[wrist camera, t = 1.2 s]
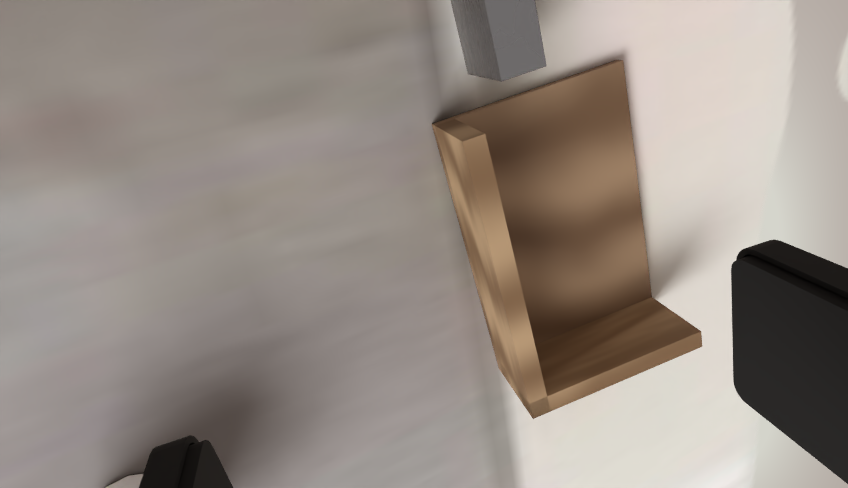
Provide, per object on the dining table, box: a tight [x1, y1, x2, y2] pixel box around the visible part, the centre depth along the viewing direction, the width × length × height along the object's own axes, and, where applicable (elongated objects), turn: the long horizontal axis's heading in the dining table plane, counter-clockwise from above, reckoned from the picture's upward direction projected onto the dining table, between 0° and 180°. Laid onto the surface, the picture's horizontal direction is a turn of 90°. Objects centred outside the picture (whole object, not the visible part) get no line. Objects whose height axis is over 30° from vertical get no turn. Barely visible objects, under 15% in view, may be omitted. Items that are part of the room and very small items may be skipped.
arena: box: [432, 60, 702, 419], centre depth 34 cm, size 18×12×6 cm, turn 16°
